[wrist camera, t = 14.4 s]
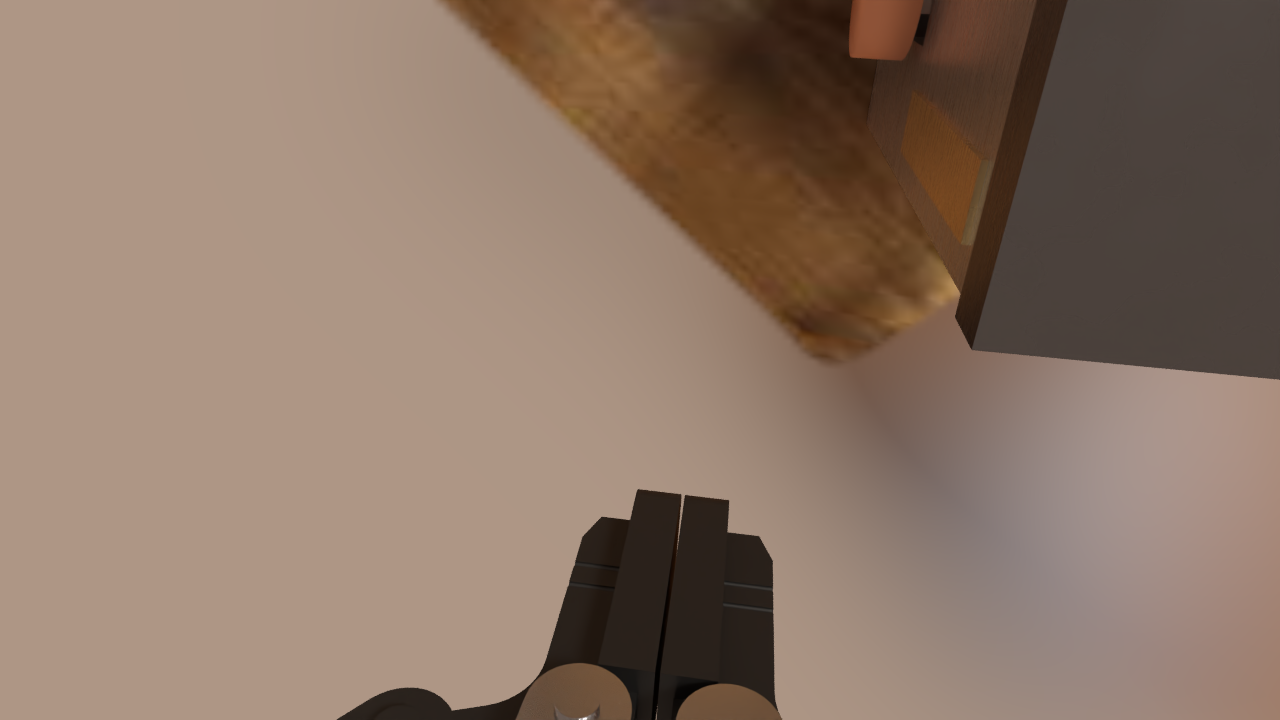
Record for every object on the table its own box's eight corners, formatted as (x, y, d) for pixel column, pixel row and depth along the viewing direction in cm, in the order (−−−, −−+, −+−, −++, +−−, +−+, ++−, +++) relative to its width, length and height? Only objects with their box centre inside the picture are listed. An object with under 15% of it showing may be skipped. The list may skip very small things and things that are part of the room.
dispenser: (859, 129, 43) (971, 350, 20) (916, -198, 36) (1181, -414, 13) (1102, 146, 42) (1508, 401, 19) (1209, -188, 35) (2045, -408, 12)
